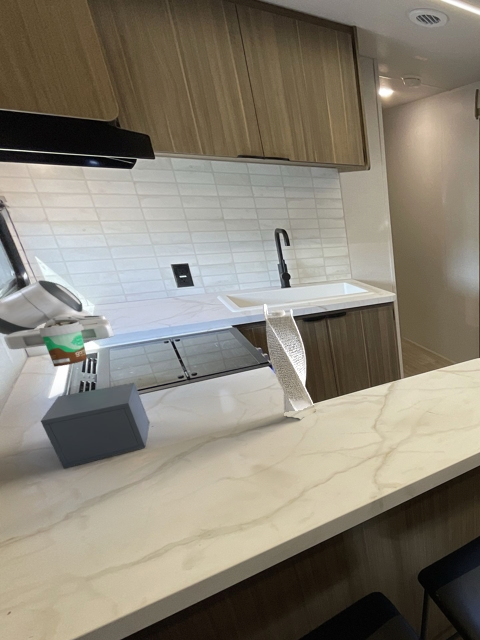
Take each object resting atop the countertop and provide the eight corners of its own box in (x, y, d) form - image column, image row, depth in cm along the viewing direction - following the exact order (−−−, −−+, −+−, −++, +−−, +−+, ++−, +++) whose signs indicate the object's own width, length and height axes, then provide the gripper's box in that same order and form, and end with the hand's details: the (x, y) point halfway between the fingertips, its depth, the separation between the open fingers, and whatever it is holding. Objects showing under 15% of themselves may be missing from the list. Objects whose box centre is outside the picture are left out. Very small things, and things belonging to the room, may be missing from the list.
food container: (86, 364, 103) (74, 326, 99) (52, 368, 99) (38, 328, 96) (98, 353, 112) (87, 317, 109) (67, 356, 109) (55, 319, 106)
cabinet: (77, 439, 92) (58, 396, 88) (149, 422, 99) (134, 382, 95) (63, 468, 80) (40, 420, 77) (145, 447, 88) (128, 402, 84)
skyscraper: (276, 418, 100) (248, 306, 90) (299, 405, 106) (276, 300, 96) (300, 422, 97) (275, 308, 87) (323, 409, 104) (301, 302, 94)
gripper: (9, 325, 107) (-10, 335, 97) (111, 314, 118) (104, 323, 108) (19, 347, 109) (2, 360, 99) (118, 335, 121) (113, 345, 110)
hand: (56, 340), depth 104 cm, fingers closed on food container
